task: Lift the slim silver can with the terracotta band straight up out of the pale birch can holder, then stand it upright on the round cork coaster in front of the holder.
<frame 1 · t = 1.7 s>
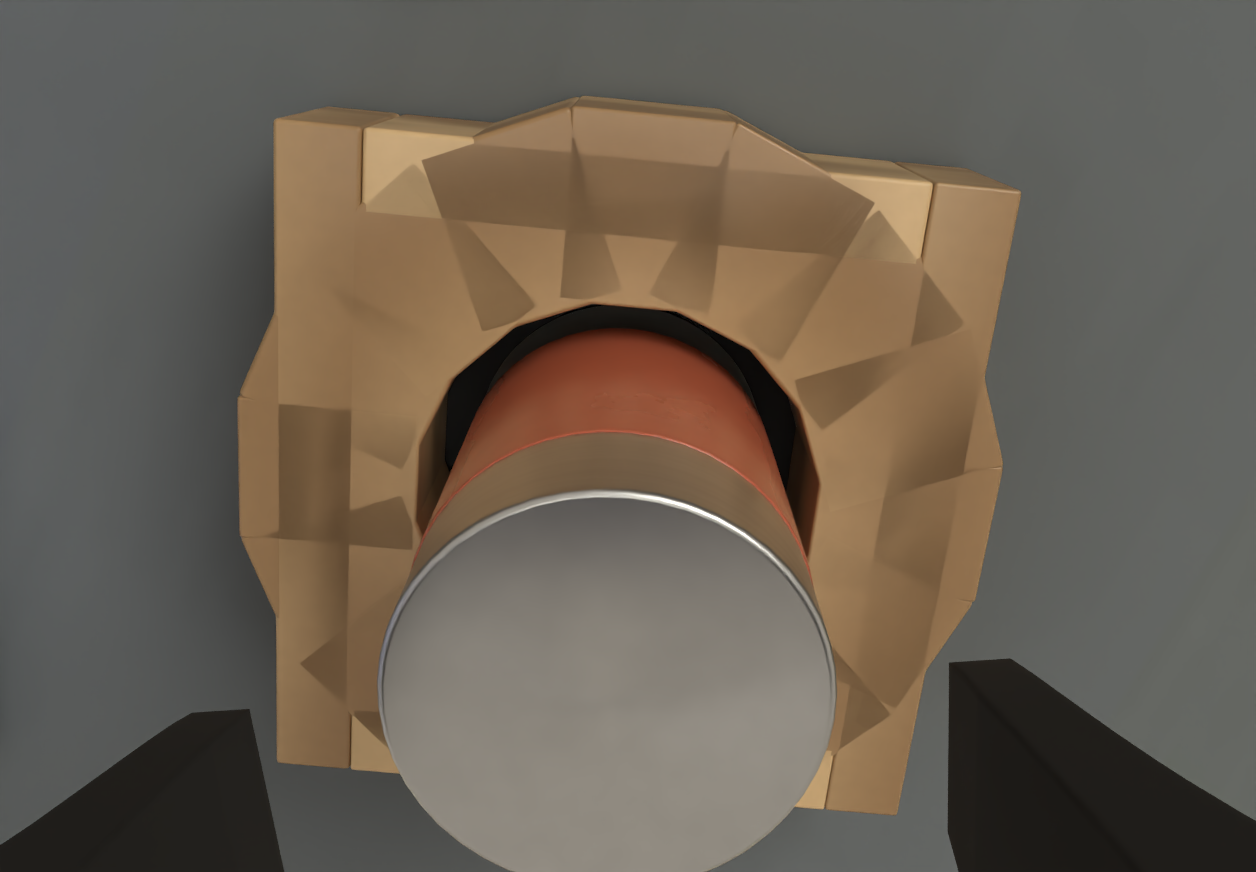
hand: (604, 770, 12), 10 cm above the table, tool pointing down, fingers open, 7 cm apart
holder: (619, 441, 22), on the table
can: (614, 541, 17), in the holder
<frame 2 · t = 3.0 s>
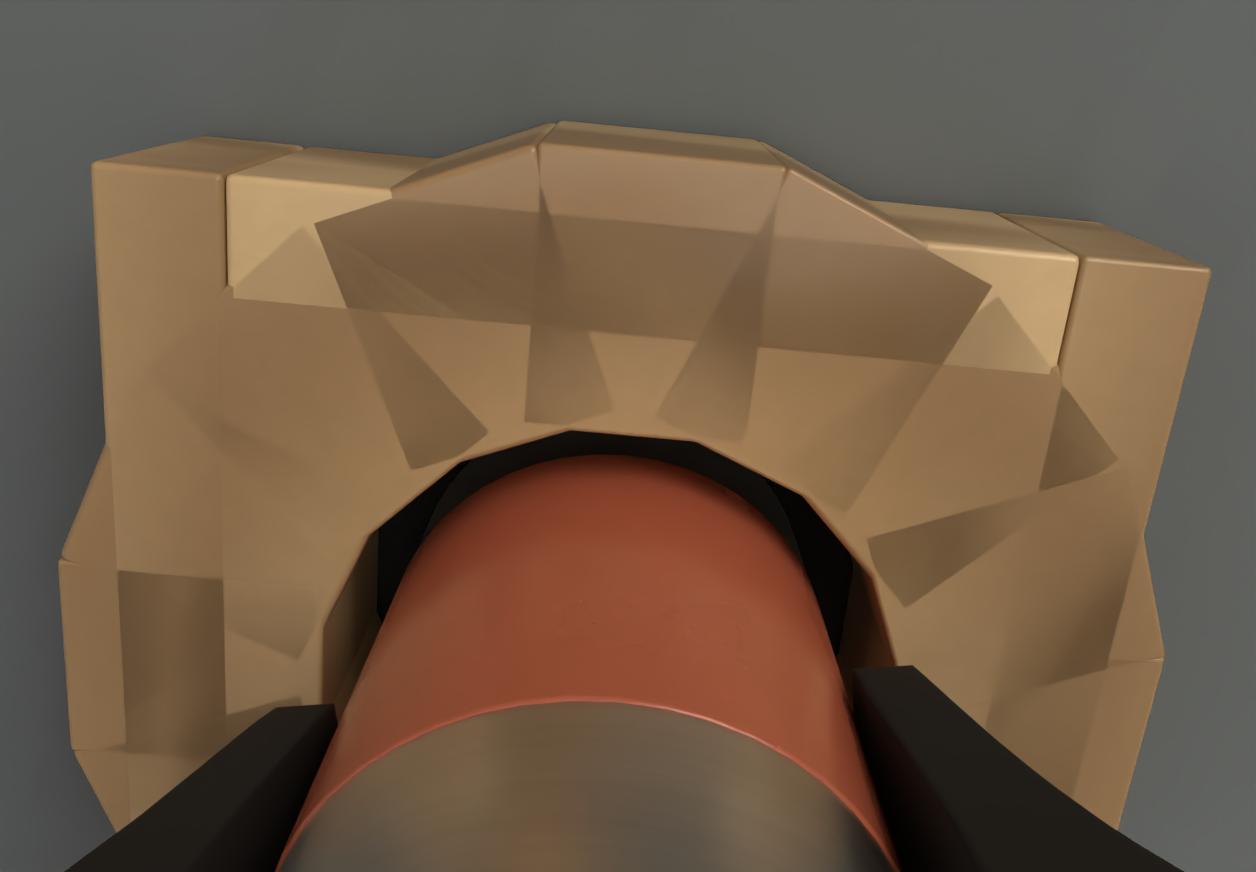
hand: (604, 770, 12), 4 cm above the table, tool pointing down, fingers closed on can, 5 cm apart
holder: (613, 586, 16), on the table
can: (599, 787, 12), in the holder, touching gripper
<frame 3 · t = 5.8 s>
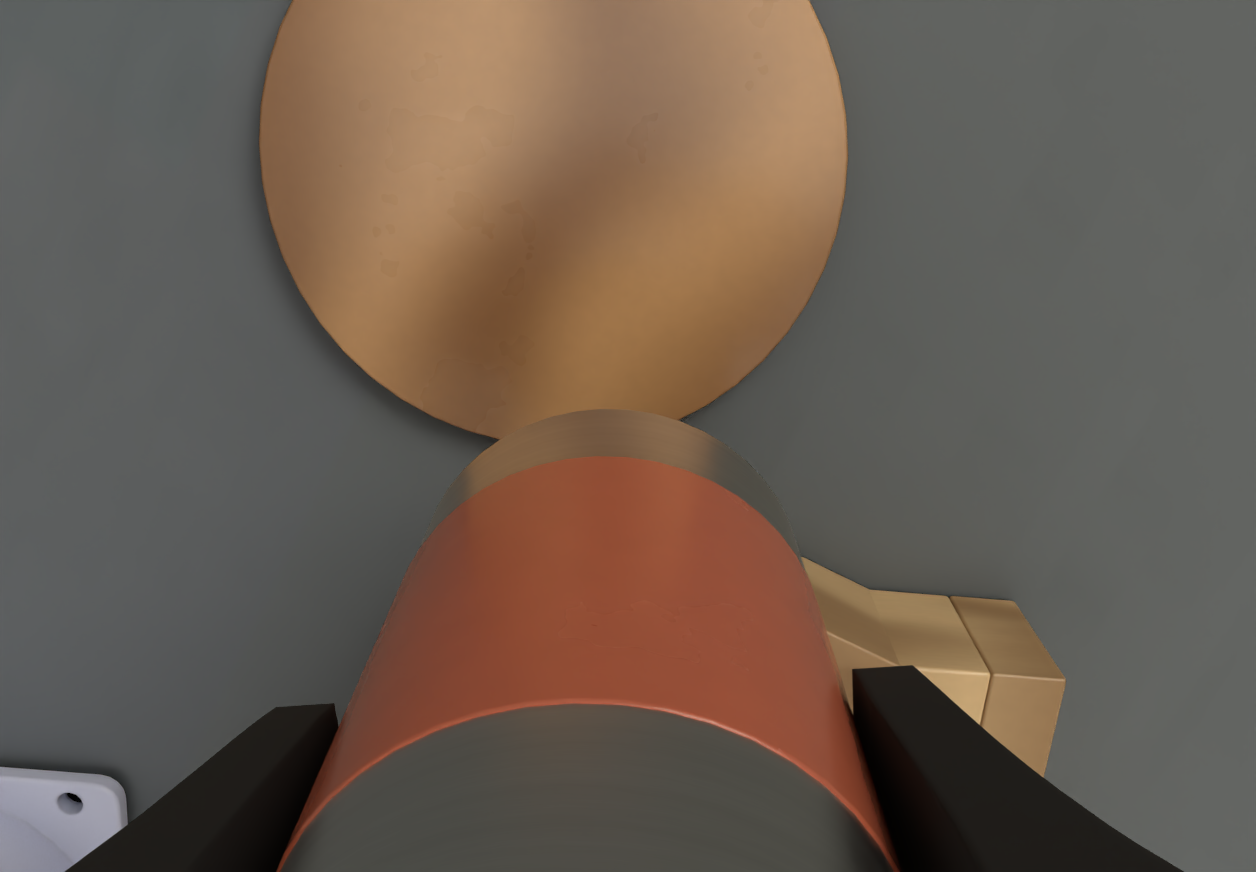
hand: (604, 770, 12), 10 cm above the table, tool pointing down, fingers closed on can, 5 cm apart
holder: (704, 813, 25), on the table
coaster: (554, 166, 20), on the table
can: (599, 789, 12), point 11 cm above the table, touching gripper
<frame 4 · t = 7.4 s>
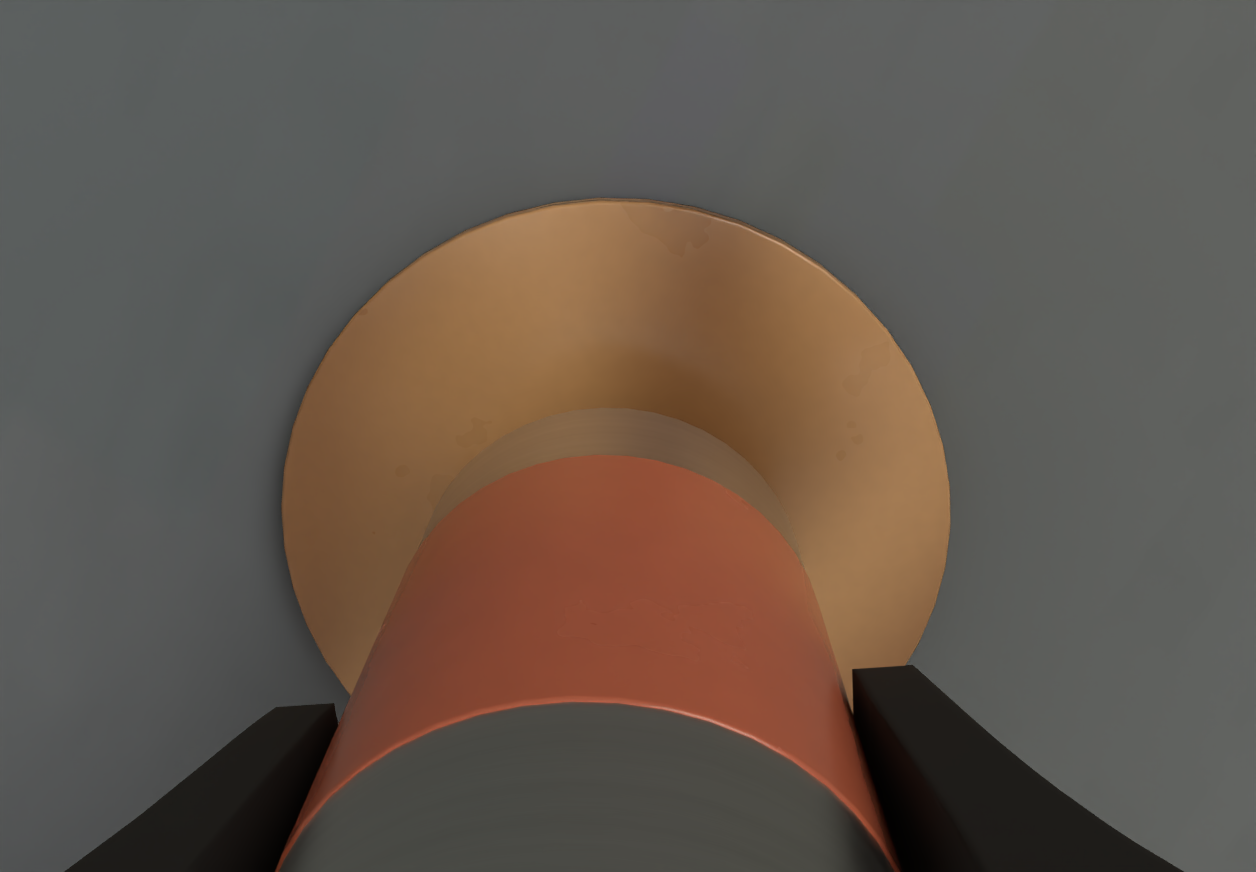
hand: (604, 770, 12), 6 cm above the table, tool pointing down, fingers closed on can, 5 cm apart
coaster: (615, 528, 18), on the table
can: (599, 788, 12), point 6 cm above the table, touching gripper
when the fingers open (5 cm above the table, at t = 8.5 s): can stays where it is, resting on coaster.
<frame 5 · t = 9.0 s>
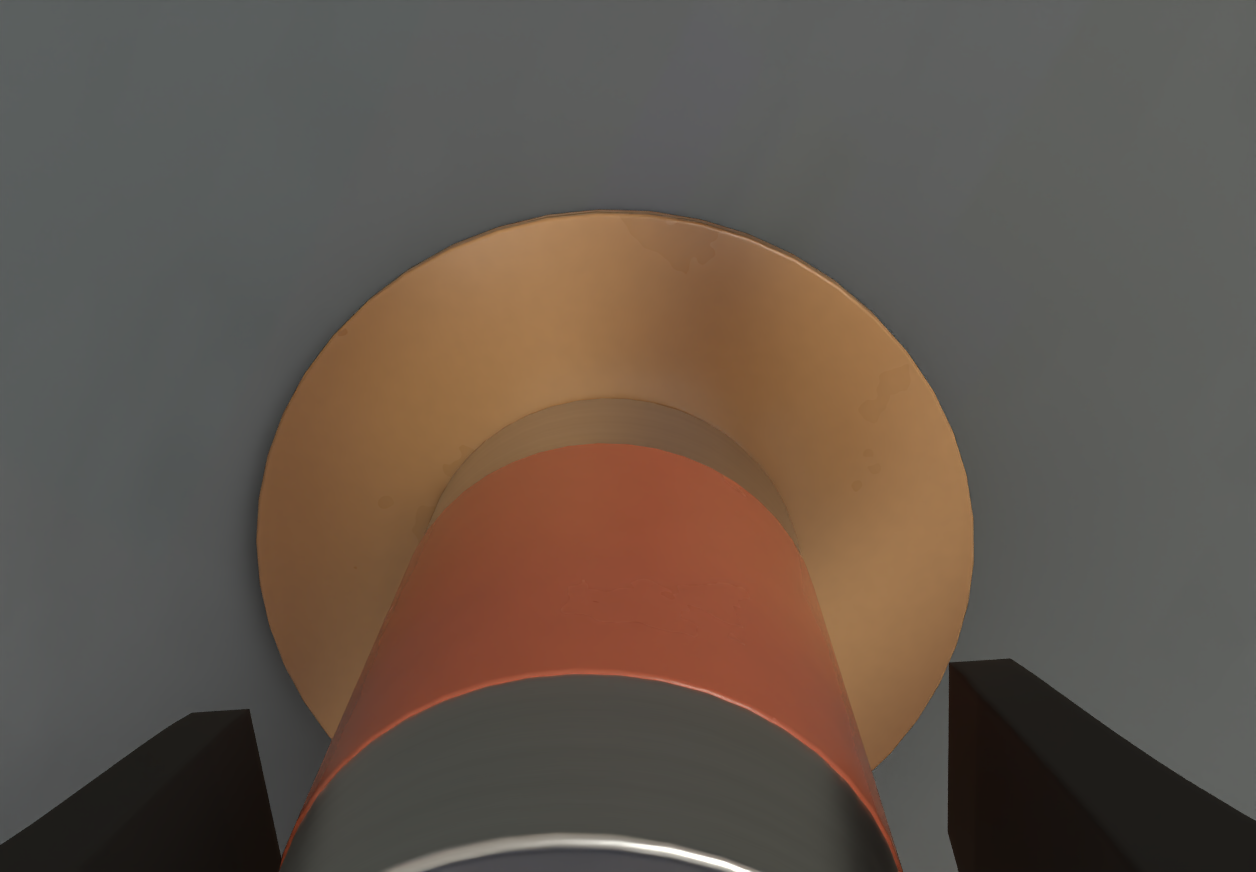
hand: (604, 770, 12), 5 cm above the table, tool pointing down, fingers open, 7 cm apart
coaster: (614, 562, 17), on the table
can: (600, 765, 12), on the coaster
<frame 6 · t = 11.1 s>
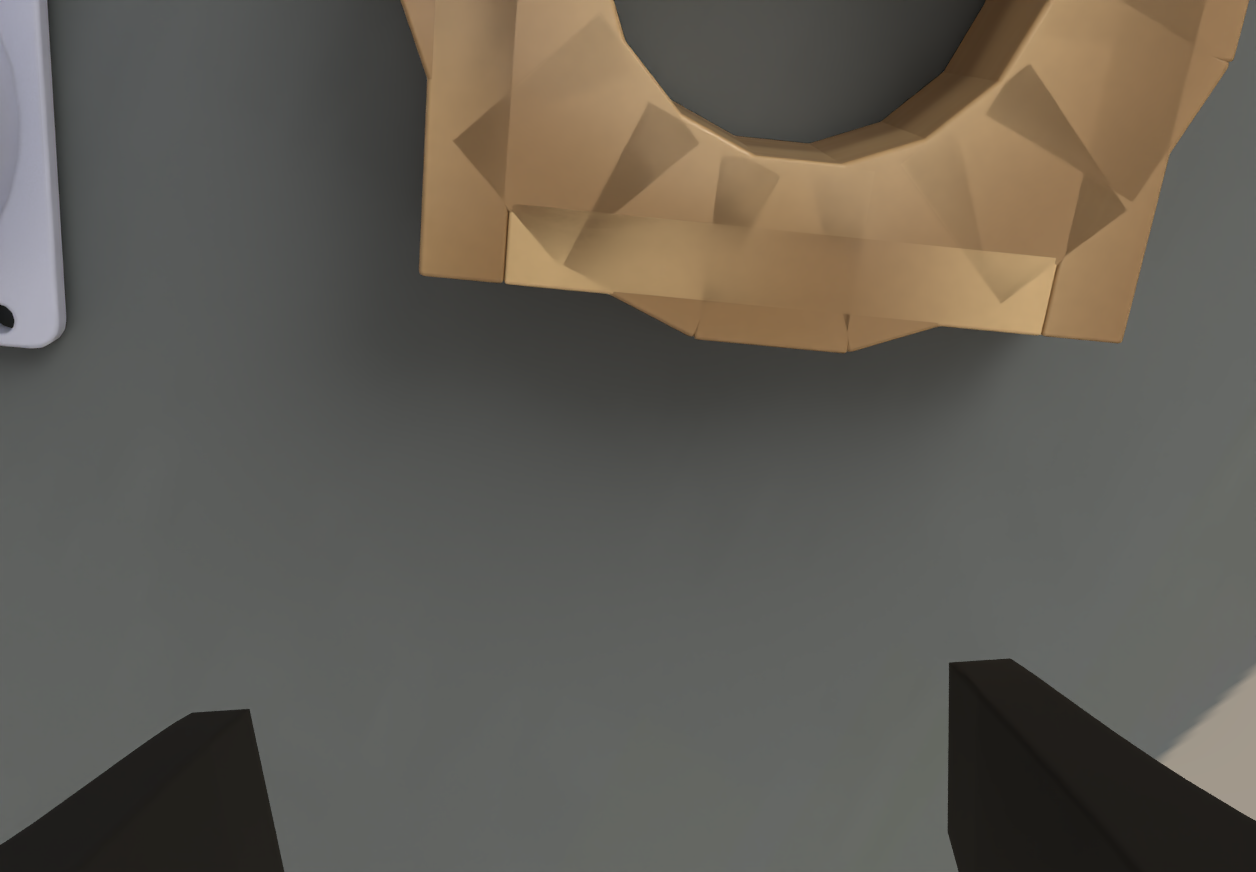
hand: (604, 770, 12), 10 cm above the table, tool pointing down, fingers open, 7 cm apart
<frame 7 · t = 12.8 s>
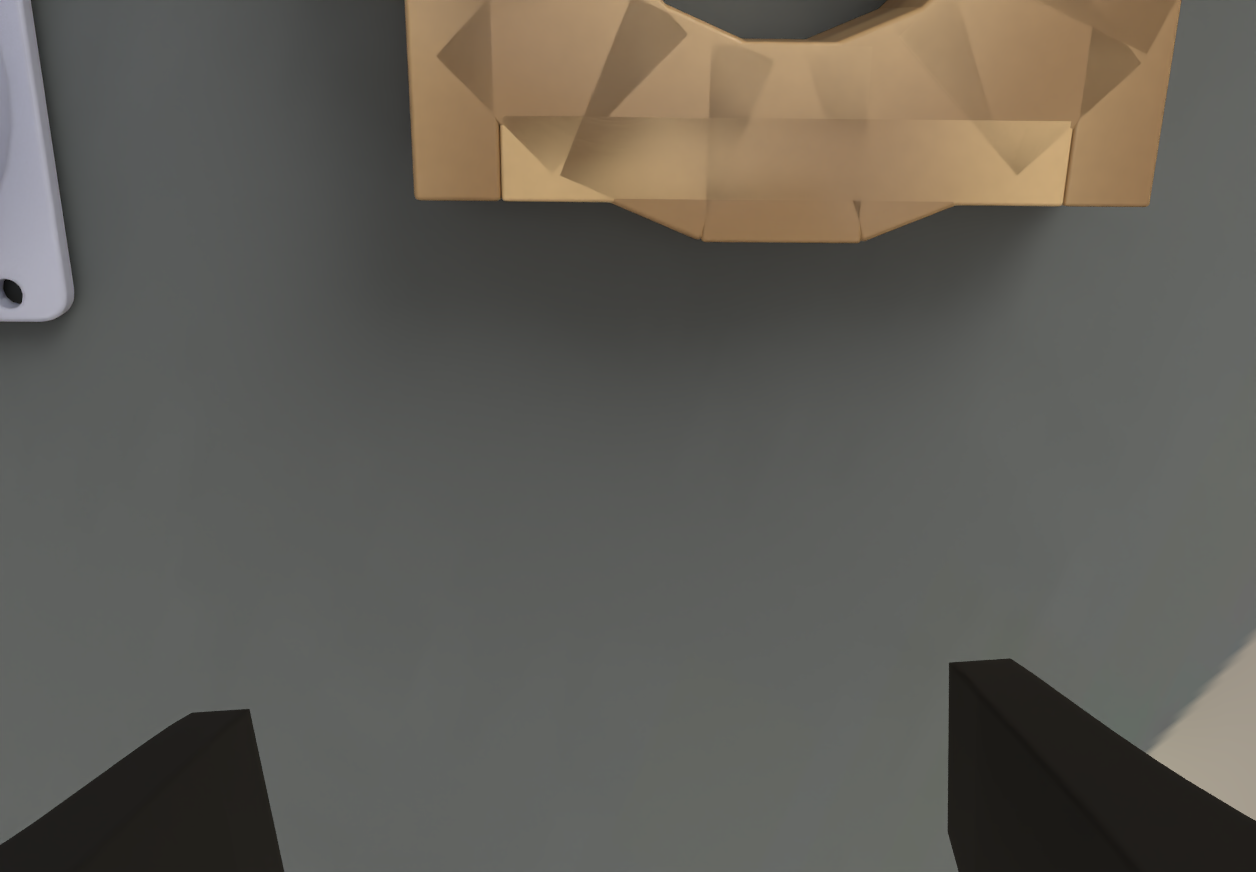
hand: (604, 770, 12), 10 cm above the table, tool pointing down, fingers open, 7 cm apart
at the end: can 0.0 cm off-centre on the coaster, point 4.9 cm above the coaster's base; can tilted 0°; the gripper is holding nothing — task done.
